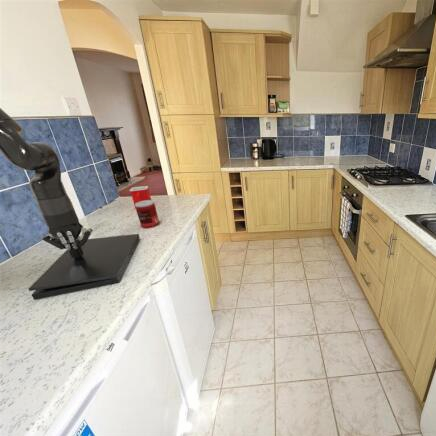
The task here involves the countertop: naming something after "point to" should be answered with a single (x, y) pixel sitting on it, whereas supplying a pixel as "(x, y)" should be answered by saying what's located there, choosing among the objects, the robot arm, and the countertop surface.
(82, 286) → the laptop
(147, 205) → the canned food
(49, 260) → the countertop surface
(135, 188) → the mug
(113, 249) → the laptop screen
